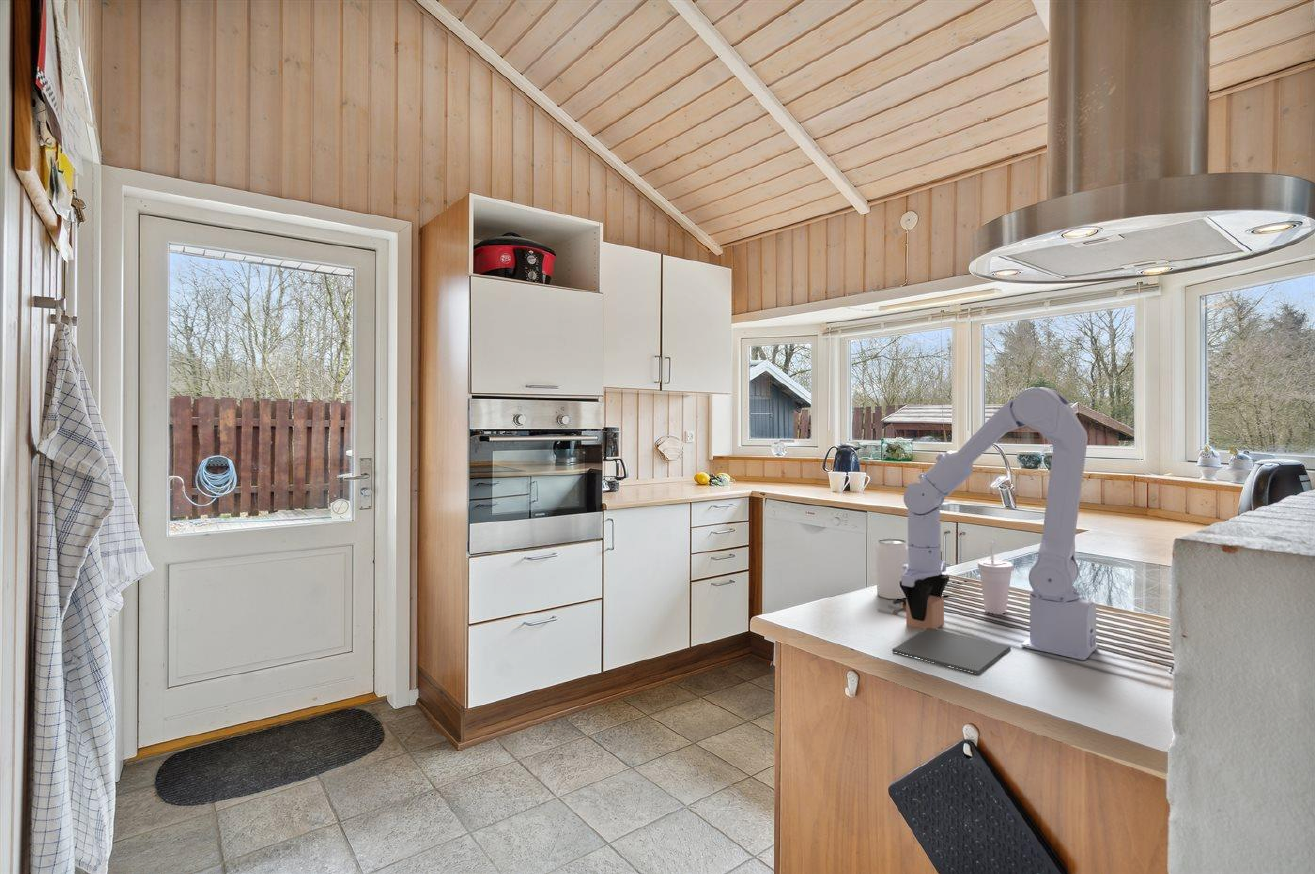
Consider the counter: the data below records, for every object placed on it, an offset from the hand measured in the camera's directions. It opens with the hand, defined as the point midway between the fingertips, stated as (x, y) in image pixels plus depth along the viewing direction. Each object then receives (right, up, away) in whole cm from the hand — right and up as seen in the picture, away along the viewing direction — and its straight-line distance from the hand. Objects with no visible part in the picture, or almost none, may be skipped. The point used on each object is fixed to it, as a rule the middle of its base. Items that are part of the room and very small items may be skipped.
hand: (925, 615), depth 127 cm
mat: (-1, -2, -13) cm, 14 cm away
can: (0, -1, +18) cm, 18 cm away
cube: (0, -2, 0) cm, 2 cm away
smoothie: (+16, -1, +6) cm, 18 cm away
